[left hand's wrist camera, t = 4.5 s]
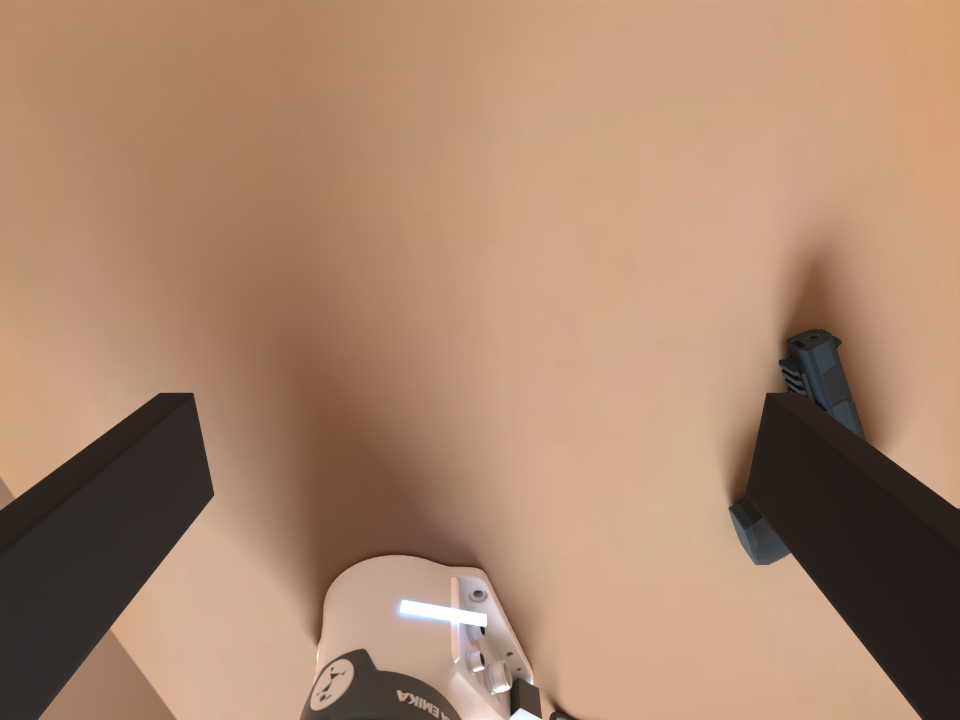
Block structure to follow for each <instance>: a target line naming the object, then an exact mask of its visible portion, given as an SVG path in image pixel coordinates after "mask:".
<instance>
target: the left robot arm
mask: <svg viewBox="0 0 960 720" xmlns="http://www.w3.org/2000/svg"><path fill="white" fill-rule="evenodd" d="M213 496H214V491H213V486H212V481H211V476H210V471H209V466H208V462H207V457H206V452H205V447H204V442H203V437H202V433H201V428H200V423H199V418H198V413H197V408H196V403H195V399H194V394H193V393H159V394H158V395H156V396H155V397H154V398H152V399H151V400H150V401H148V402H147V403H146V404H144V405H143V406H141V407H140V408H139V409H137V410H136V411H135V412H133V413H132V414H131V415H129V416H128V417H127V418H125V419H124V420H122V421H121V422H120V423H118V424H117V425H116V426H114V427H113V428H112V429H110V430H109V431H108V432H106V433H105V434H104V435H102V436H101V437H99V438H98V439H97V440H95V441H94V442H93V443H91V444H90V445H89V446H87V447H86V448H85V449H83V450H82V451H80V452H79V453H78V454H76V455H75V456H74V457H72V458H71V459H70V460H68V461H67V462H66V463H64V464H63V465H61V466H60V467H59V468H57V469H56V470H55V471H53V472H52V473H51V474H49V475H48V476H47V477H45V478H44V479H42V480H41V481H40V482H38V483H37V484H36V485H34V486H33V487H32V488H30V489H29V490H28V491H26V492H25V493H23V494H22V495H21V496H19V497H18V498H17V499H15V500H14V501H13V502H11V503H10V504H9V505H7V506H6V507H5V508H3V509H2V510H0V720H38V719H39V717H40V716H41V715H42V714H43V712H44V711H45V710H46V709H47V707H48V706H49V705H50V703H51V702H52V701H53V700H54V698H55V697H56V696H57V695H58V693H59V692H60V691H61V689H62V688H63V687H64V685H65V684H66V683H67V682H68V681H69V679H70V678H71V677H72V675H73V674H74V673H75V672H76V670H77V669H78V668H79V666H80V665H81V664H82V663H83V661H84V660H85V659H86V658H87V656H88V655H89V654H90V653H91V651H92V650H93V649H94V647H95V646H96V645H97V644H98V642H99V641H100V640H101V639H102V637H103V636H104V635H105V633H106V632H107V631H108V630H109V628H110V627H111V626H112V625H113V623H114V622H115V621H116V619H117V618H118V617H119V616H120V614H121V613H122V612H123V611H124V609H125V608H126V607H127V605H128V604H129V603H130V602H131V600H132V599H133V598H134V597H135V595H136V594H137V593H138V591H139V590H140V589H141V588H142V586H143V585H144V584H145V583H146V581H147V580H148V579H149V577H150V576H151V575H152V574H153V572H154V571H155V570H156V569H157V567H158V566H159V565H160V563H161V562H162V561H163V560H164V558H165V557H166V556H167V555H168V553H169V552H170V551H171V549H172V548H173V547H174V546H175V544H176V543H177V542H178V541H179V539H180V538H181V537H182V535H183V534H184V533H185V532H186V530H187V529H188V528H189V527H190V525H191V524H192V523H193V521H194V520H195V519H196V518H197V516H198V515H199V514H200V513H201V511H202V510H203V509H204V507H205V506H206V505H207V504H208V502H209V501H210V500H211V499H212V497H213ZM746 496H747V497H748V499H749V500H750V501H751V502H752V504H753V505H754V506H755V507H756V509H757V510H758V511H759V513H760V514H761V515H762V516H763V518H764V519H765V520H766V521H767V523H768V524H769V525H770V527H771V528H772V529H773V530H774V532H775V533H776V534H777V535H778V537H779V538H780V539H781V541H782V542H783V543H784V544H785V546H786V547H787V548H788V549H789V551H790V552H791V553H792V555H793V556H794V557H795V558H796V560H797V561H798V562H799V563H800V565H801V566H802V567H803V569H804V570H805V571H806V572H807V574H808V575H809V576H810V577H811V579H812V580H813V581H814V583H815V584H816V585H817V586H818V588H819V589H820V590H821V591H822V593H823V594H824V595H825V597H826V598H827V599H828V600H829V602H830V603H831V604H832V605H833V607H834V608H835V609H836V611H837V612H838V613H839V614H840V616H841V617H842V618H843V619H844V621H845V622H846V623H847V625H848V626H849V627H850V628H851V630H852V631H853V632H854V633H855V635H856V636H857V637H858V639H859V640H860V641H861V642H862V644H863V645H864V646H865V647H866V649H867V650H868V651H869V653H870V654H871V655H872V656H873V658H874V659H875V660H876V661H877V663H878V664H879V665H880V667H881V668H882V669H883V670H884V672H885V673H886V674H887V675H888V677H889V678H890V679H891V681H892V682H893V683H894V684H895V686H896V687H897V688H898V689H899V691H900V692H901V693H902V695H903V696H904V697H905V698H906V700H907V701H908V702H909V703H910V705H911V706H912V707H913V709H914V710H915V711H916V712H917V714H918V715H919V716H920V717H921V719H922V720H960V509H957V508H956V507H954V506H953V505H951V504H950V503H949V502H947V501H946V500H945V499H943V498H942V497H941V496H939V495H938V494H937V493H935V492H934V491H932V490H931V489H930V488H928V487H927V486H926V485H924V484H923V483H922V482H920V481H919V480H918V479H916V478H915V477H913V476H912V475H911V474H909V473H908V472H907V471H905V470H904V469H903V468H901V467H900V466H899V465H897V464H896V463H894V462H893V461H892V460H890V459H889V458H888V457H886V456H885V455H884V454H882V453H881V452H880V451H878V450H877V449H875V448H874V447H873V446H871V445H870V444H869V443H867V442H866V441H865V440H863V439H862V438H861V437H859V436H858V435H856V434H855V433H854V432H852V431H851V430H850V429H848V428H847V427H846V426H844V425H843V424H842V423H840V422H839V421H838V420H836V419H835V418H833V417H832V416H831V415H829V414H828V413H827V412H825V411H824V410H823V409H821V408H820V407H819V406H817V405H816V404H814V403H813V402H812V401H810V400H809V399H808V398H806V397H805V396H804V395H802V394H801V393H767V394H766V399H765V403H764V408H763V413H762V418H761V423H760V428H759V433H758V437H757V442H756V447H755V452H754V457H753V462H752V466H751V471H750V476H749V481H748V486H747V491H746Z"/></svg>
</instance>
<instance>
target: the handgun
mask: <svg viewBox="0 0 960 720" xmlns="http://www.w3.org/2000/svg"><path fill="white" fill-rule="evenodd" d="M841 343H842V342H841V340H839V339H838V338H836V337H834V336H832V334H830V333H828V332H826V331H824V330H810V331H806V332H804V333H801V334H799V335H797V336H795V337H792V338H790V339H788V344H789V347H790V350H791V353H792V357H791V358H789V359H788V360H779V365H780V367H782V368H783V369H782V374H783V376H785V377H786V379H785V382H786V384H787V385H788V386H789V388H788V390H789V393H801V394H802V395H804V396H805V397H806V398H808V399H809V400H810V401H812V402H813V403H814V404H816V405H817V406H819V407H820V408H821V409H823V410H824V411H825V412H827V413H828V414H829V415H831V416H832V417H833V418H835V419H836V420H838V421H839V422H840V423H842V424H843V425H844V426H846V427H847V428H848V429H850V430H851V431H852V432H854V433H855V434H856V435H858V436H859V437H861V438H862V439H863V440H865V441H866V438H865V435H864V432H863V429H862V425H861V422H860V419H859V416H858V413H857V410H856V406H855V403H854V402H853V400H852V397H851V394H850V390H849V387H848V384H847V381H846V378H845V375H844V371H843V368H842V365H841V362H840V359H839V356H838V352H837V349H836V348H837V347H838V346H839V345H840V344H841ZM866 442H867V441H866ZM729 511H730V514H731V517H732V521H733V523H734V526H735V529H736V532H737V534H738V537H739V539H740V542H741V544H742V546H743V547H744V549H745V550H746V552H747V553H748V555H749V556H750V558H751V559H752V561H753V562H754V563H755V564H756V565H770V564H771V563H773V562H775V561H777V560H779V559H781V558H783V557H785V556H787V555H788V554H790V553H791V552H790V551H789V549H788V548H787V547H786V546H785V544H784V543H783V542H782V541H781V539H780V538H779V537H778V535H777V534H776V533H775V532H774V530H773V529H772V528H771V527H770V525H769V524H768V523H767V521H766V520H765V519H764V518H763V516H762V515H761V514H760V513H759V511H758V510H757V509H756V507H755V506H754V505H753V504H752V502H751V501H750V500H749V499H748V497H747V498H745V499H744V500H743V501H741V502H740V503H739V504H737V505H735V506H734V507H733V506H730V507H729Z"/></svg>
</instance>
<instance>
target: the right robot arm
mask: <svg viewBox="0 0 960 720" xmlns="http://www.w3.org/2000/svg"><path fill="white" fill-rule="evenodd" d="M476 590H480V592H477V591H476ZM316 659H317V666H316V671H315V677H314V682H313V688H312V690H311V692H310V694H309V697H308V699H307V701H306V703H305V706H304V708H303V711H302V714H301V717H300V720H542V713H541V704H540V695H539V688H537V687H535V686H533V683H534V674H533V671H532V669H531V667H530V664H529V662H528V660H527V658H526V656H525V654H524V652H523V650H522V648H521V646H520V644H519V641H518V639H517V637H516V635H515V633H514V631H513V629H512V627H511V625H510V623H509V621H508V619H507V616H506V614H505V612H504V610H503V608H502V606H501V604H500V602H499V600H498V598H497V596H496V594H495V592H494V589H493V587H492V585H491V583H490V581H489V579H488V577H487V575H486V574H485V572H484V571H482V570H481V569H478V568H473V567H449V566H445V565H441V564H438V563H435V562H433V561H430V560H427V559H423V558H419V557H414V556H406V555H387V556H379V557H374V558H371V559H367V560H364V561H362V562H359V563H357V564H355V565H353V566H351V567H350V568H348V569H347V570H345V571H344V572H343V573H342V574H340V575H339V576H338V577H337V578H336V579H335V581H334V582H333V583H332V585H331V586H330V588H329V590H328V592H327V594H326V596H325V600H324V605H323V626H322V635H321V639H320V641H319V644H318V648H317V653H316ZM549 720H575V719H573V718H571V717H570V716H568V715H566V714H564V713H561V712H553V713H552V714H551V715H550V719H549Z"/></svg>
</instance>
